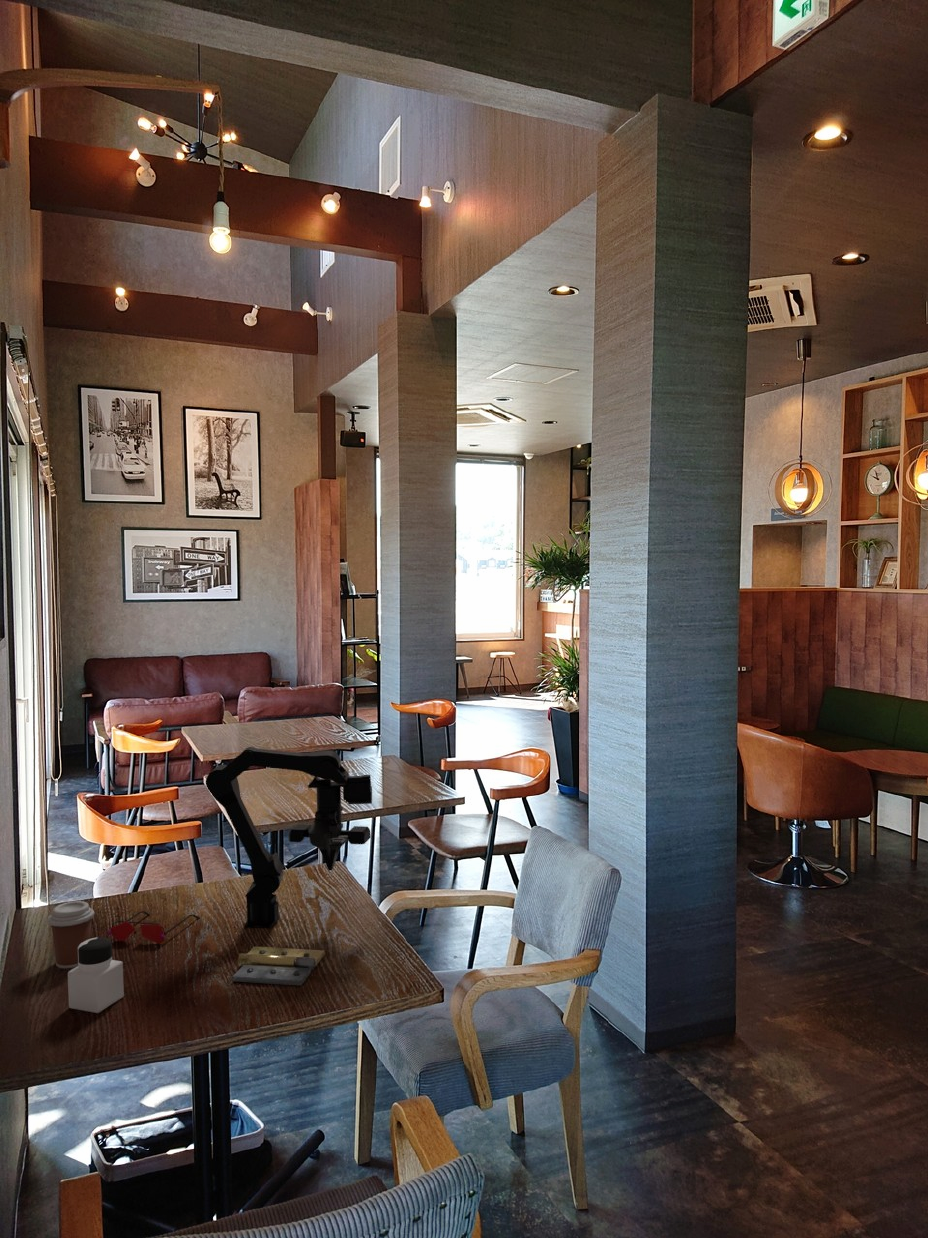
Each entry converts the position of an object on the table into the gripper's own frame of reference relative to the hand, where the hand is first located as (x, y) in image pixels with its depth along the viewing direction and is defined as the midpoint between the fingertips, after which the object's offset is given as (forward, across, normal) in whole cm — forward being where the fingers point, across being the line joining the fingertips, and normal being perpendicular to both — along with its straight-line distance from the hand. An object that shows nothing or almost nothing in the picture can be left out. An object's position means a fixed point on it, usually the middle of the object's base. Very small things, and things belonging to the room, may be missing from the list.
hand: (330, 869), depth 205 cm
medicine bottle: (+12, -32, -46) cm, 57 cm away
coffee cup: (+12, -48, -30) cm, 58 cm away
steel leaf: (+12, -2, -30) cm, 32 cm away
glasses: (+13, -39, -11) cm, 43 cm away
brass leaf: (+12, -3, -24) cm, 27 cm away
